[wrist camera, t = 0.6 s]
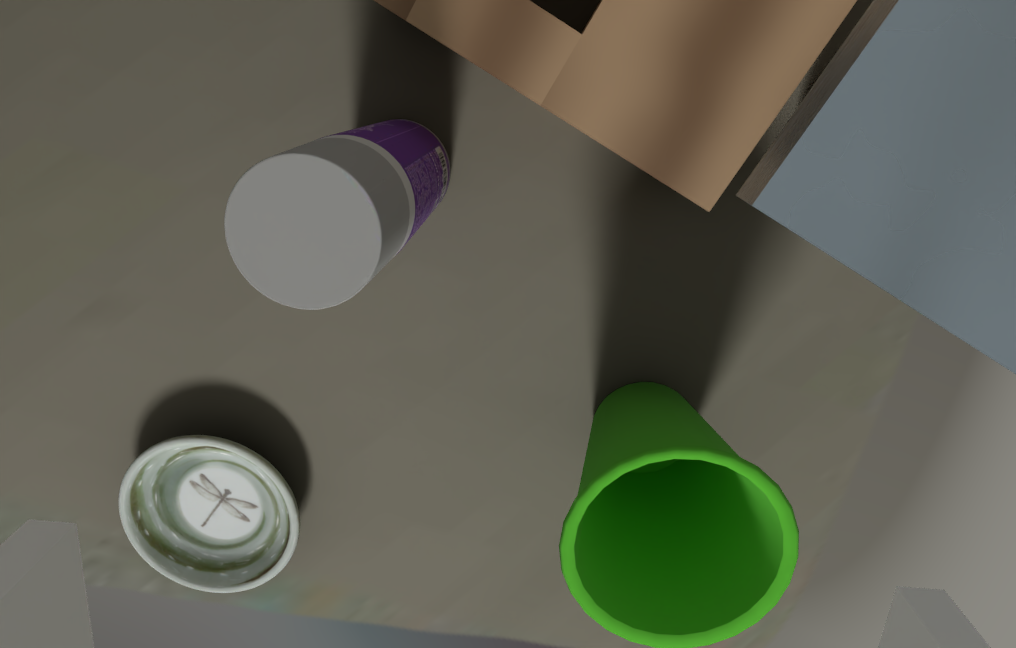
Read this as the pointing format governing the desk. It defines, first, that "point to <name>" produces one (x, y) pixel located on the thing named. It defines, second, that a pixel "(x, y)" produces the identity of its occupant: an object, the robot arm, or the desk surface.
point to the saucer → (209, 513)
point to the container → (334, 211)
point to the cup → (673, 526)
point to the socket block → (648, 72)
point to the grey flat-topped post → (912, 163)
